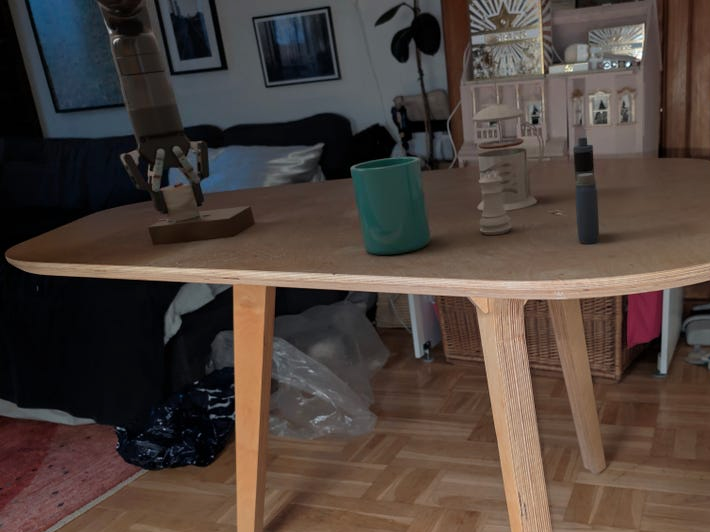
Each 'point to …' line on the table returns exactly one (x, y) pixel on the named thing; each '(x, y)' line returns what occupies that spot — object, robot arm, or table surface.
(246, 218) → the panel
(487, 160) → the french press
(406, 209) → the cup
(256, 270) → the table surface
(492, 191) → the rook chess piece
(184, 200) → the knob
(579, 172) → the vaping device
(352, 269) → the table surface
